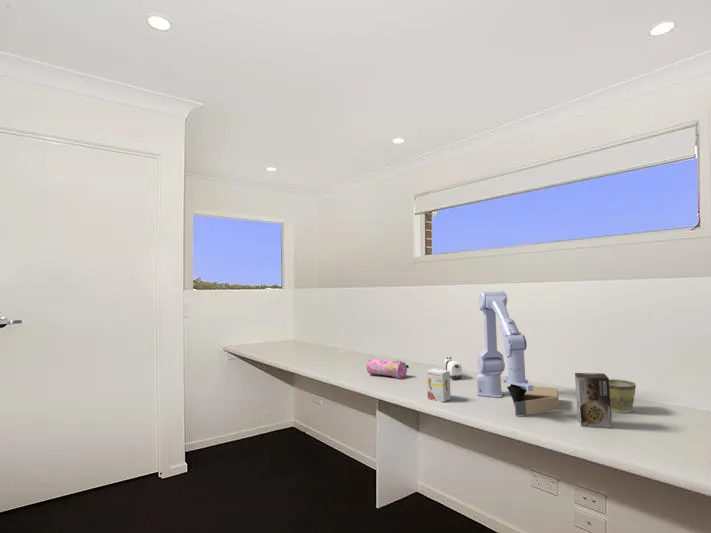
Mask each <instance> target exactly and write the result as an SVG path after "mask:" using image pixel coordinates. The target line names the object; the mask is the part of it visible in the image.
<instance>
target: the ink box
mask: <svg viewBox="0 0 711 533" xmlns="http://www.w3.org/2000/svg"><path fill="white" fill-rule="evenodd" d="M426 386H427V387H426V388H427V399H428V398H430V399H429V400H432V399H435V400H434V401H436V400H439V401H438V402H440V401H443V402H442V403H445V401H446V402H448V401H447V400H449V401H451V400H450V399H452V398H451V375H450V372H449V371H447V370H446V369H440V368H437V367H436V368H431V369H427V370H426Z"/></svg>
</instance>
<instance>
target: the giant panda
mask: <svg viewBox="0 0 711 533" xmlns="http://www.w3.org/2000/svg"><path fill="white" fill-rule="evenodd" d="M443 362H444V363H443V364H444V367H445V370H447V371H449V372H450V381H456V379H457V380H458V381H461V380H462V376H463V369H462V368H463V367H462V365H461V364H460V361H457V360H453V358H452V357H451V356H449V357H448V356H447V357H445V359H444V361H443Z"/></svg>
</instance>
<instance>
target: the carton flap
mask: <svg viewBox="0 0 711 533" xmlns="http://www.w3.org/2000/svg"><path fill="white" fill-rule="evenodd" d="M559 404H560V403H559V396H558V397H549V398H541V399H534V400H526V401H518V402H515V405H514V412H515V416H516V417H519V416H525V415H534V414H539V413H546V412H547V413H548V412H553V411H554V412H555V411H559V410H560V406H559Z"/></svg>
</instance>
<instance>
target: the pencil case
mask: <svg viewBox="0 0 711 533" xmlns="http://www.w3.org/2000/svg"><path fill="white" fill-rule="evenodd" d="M365 365H366V371H367V373H368V374H370V375H372V376H373V375H382V376H389V377H391V378H396V379H400V380H403V379H404V378H405V377H406V375H407V371H408V369H410V366H409V364H406V361H402V360H392V361H390V360H381V359H378V358H374V357H371V358H370V359H369V360H367V361H366V364H365Z"/></svg>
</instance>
